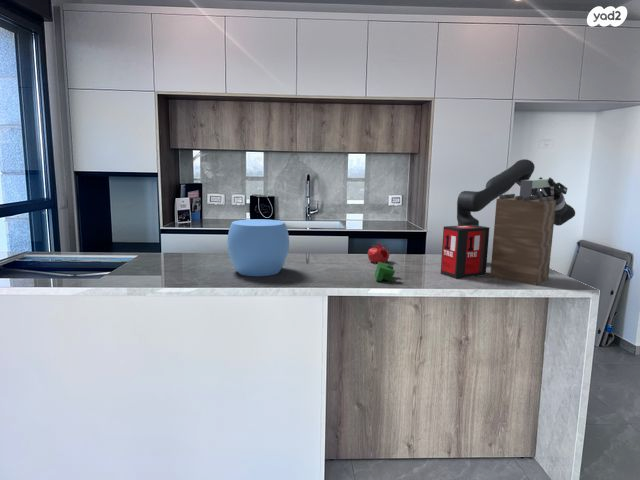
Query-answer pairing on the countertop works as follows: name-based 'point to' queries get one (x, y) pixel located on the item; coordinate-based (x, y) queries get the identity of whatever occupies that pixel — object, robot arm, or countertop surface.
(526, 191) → the grey-green flat block
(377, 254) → the pomegranate
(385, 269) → the green blocky piece
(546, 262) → the wooden box
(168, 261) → the countertop surface
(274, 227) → the planter
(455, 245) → the cleaning product box
